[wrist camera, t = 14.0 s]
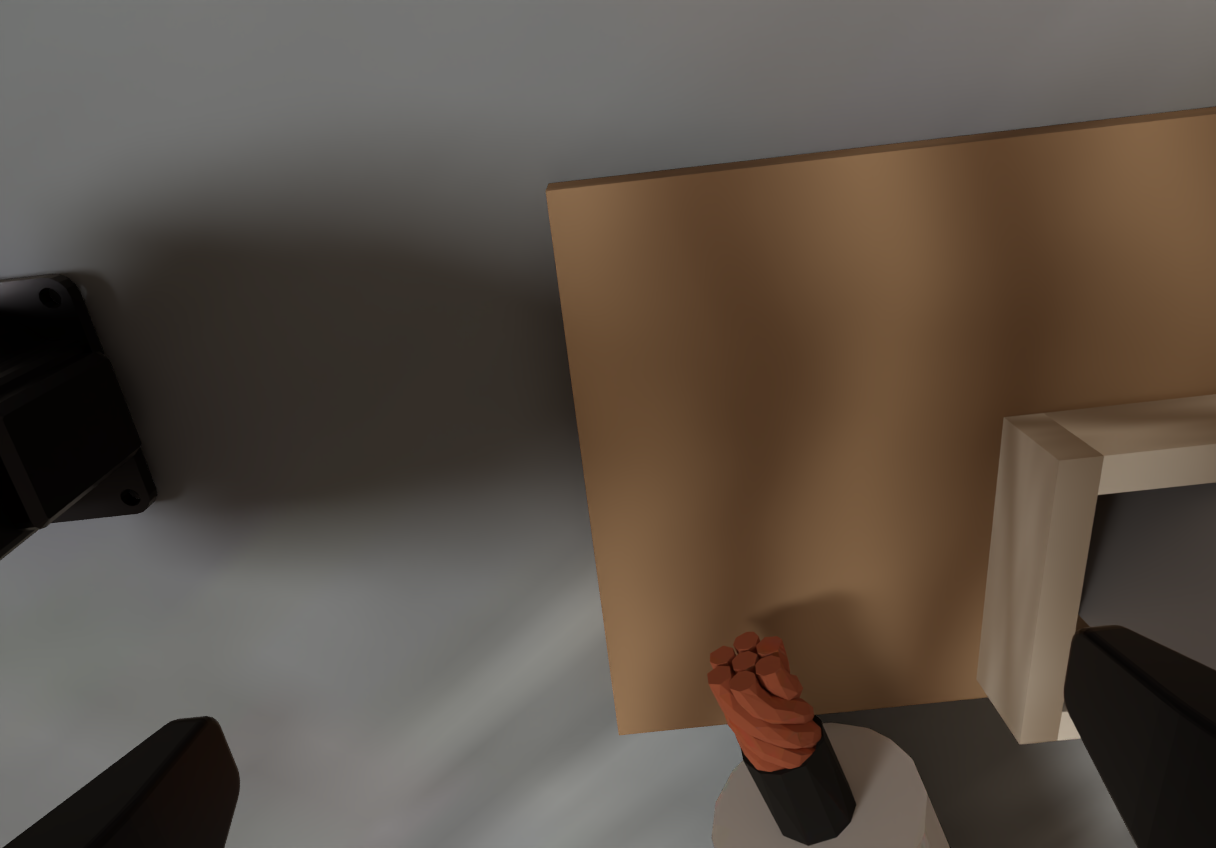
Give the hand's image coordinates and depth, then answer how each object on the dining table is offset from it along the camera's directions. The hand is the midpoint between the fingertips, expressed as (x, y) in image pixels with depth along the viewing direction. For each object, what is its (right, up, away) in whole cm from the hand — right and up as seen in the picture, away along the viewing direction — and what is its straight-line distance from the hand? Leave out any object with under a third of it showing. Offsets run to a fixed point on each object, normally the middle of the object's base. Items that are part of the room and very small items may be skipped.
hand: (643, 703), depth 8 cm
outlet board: (+9, +3, +13) cm, 16 cm away
